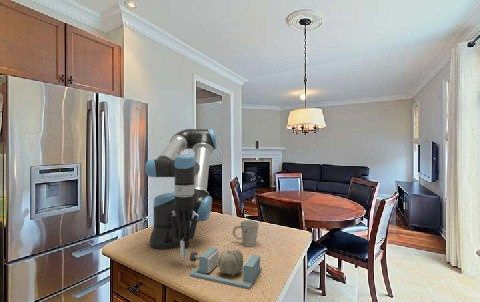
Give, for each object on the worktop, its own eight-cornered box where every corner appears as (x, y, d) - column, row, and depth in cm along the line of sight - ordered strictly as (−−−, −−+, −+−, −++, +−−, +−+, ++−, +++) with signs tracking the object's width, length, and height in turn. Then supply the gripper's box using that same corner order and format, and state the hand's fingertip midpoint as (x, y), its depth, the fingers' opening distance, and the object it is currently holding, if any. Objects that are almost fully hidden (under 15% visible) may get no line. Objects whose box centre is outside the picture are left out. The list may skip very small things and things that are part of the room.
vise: (189, 276, 86) (189, 259, 86) (208, 259, 99) (208, 244, 99) (249, 289, 78) (250, 270, 78) (261, 269, 91) (261, 253, 91)
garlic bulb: (241, 277, 90) (251, 252, 90) (232, 285, 82) (242, 257, 82) (220, 264, 94) (229, 240, 94) (209, 270, 86) (219, 244, 86)
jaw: (185, 269, 90) (185, 253, 90) (198, 259, 98) (198, 245, 98) (208, 274, 86) (208, 258, 86) (218, 263, 95) (219, 248, 95)
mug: (257, 248, 110) (257, 226, 110) (230, 245, 113) (230, 224, 113) (259, 241, 119) (259, 220, 119) (234, 239, 121) (234, 219, 121)
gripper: (164, 195, 94) (163, 257, 94) (193, 198, 89) (193, 263, 89) (176, 192, 101) (175, 250, 101) (204, 195, 96) (203, 255, 96)
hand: (183, 256), depth 95 cm, fingers closed
